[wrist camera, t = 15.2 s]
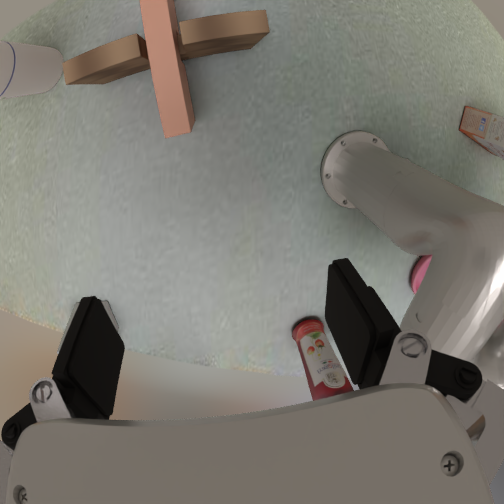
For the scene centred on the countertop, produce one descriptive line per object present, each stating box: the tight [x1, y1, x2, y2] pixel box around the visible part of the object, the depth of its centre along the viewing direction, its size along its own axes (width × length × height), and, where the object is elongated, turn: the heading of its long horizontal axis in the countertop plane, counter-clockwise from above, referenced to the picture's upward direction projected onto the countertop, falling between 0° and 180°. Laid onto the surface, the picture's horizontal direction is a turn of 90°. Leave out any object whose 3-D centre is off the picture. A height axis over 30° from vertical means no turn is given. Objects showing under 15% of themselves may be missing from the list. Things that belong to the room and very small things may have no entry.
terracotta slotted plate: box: [140, 0, 195, 138], centre depth 25 cm, size 20×2×12 cm, turn 8°
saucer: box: [411, 255, 432, 294], centre depth 56 cm, size 12×12×3 cm
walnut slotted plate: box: [62, 10, 270, 85], centre depth 25 cm, size 20×2×12 cm, turn 99°
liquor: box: [292, 319, 354, 401], centre depth 47 cm, size 7×7×28 cm
